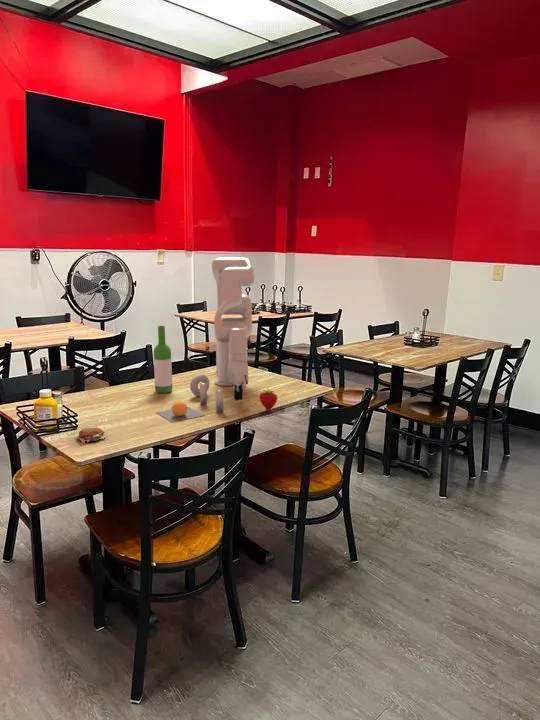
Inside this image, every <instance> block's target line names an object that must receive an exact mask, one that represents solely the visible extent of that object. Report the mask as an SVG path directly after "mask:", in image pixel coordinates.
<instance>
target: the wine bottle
mask: <svg viewBox="0 0 540 720" xmlns="http://www.w3.org/2000/svg"><path fill="white" fill-rule="evenodd" d="M157 332H158V334H157V337H158V339H157V340H158V343H157V345H156V346H155V347H154V349H153V369H154V370H153V371H154V390H155V393H158V394H168V393H171V392H172V391H173V371H172V370H173V369H172V367H173V366H172V349H171V347H170V346H169V345H167V343H166V328H165V325H158V326H157Z"/></svg>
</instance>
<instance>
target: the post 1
mask: <svg viewBox="0 0 540 720" xmlns="http://www.w3.org/2000/svg"><path fill="white" fill-rule="evenodd" d="M199 389H200V396H199V398H200V399H199V403H200V406H207V405H208V391H207V383H202V382H199Z"/></svg>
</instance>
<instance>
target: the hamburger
mask: <svg viewBox="0 0 540 720" xmlns="http://www.w3.org/2000/svg"><path fill="white" fill-rule="evenodd" d="M105 433H106V432H105V431H103V430H102V429H101V428H100V427H85V428H82V429H80V430H79V431H78V433H77V437H76V438H77V439H79V440H80V441H81V442H82V443H83V442H85V441H87V443H88V442H89V441H90V442H95V441H100V440H99V439H101V440H105V439H106V436H105ZM104 438H105V439H104ZM90 442H89V443H90Z"/></svg>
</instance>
